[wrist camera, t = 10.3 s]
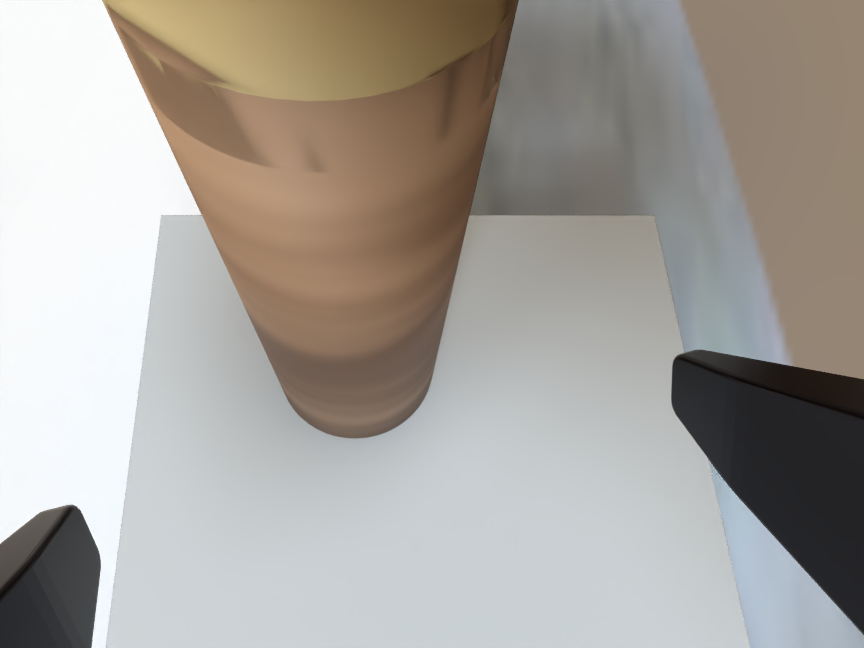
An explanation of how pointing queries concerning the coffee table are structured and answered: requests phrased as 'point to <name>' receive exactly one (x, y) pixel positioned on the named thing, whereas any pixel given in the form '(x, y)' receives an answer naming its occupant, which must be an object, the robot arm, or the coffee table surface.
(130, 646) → the caster cart
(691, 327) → the coffee table surface
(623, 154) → the coffee table surface
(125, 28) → the cylinder
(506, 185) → the coffee table surface
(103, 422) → the coffee table surface
